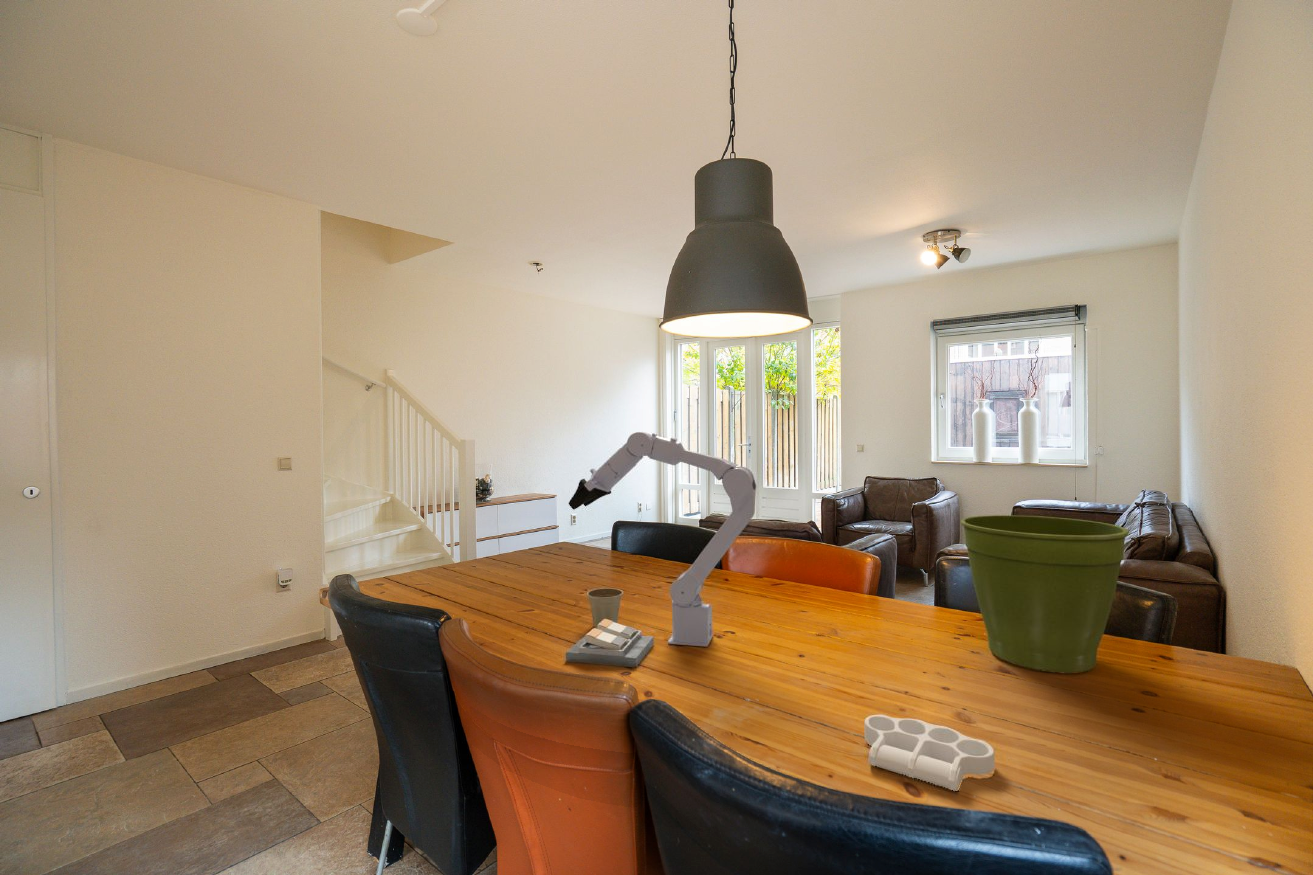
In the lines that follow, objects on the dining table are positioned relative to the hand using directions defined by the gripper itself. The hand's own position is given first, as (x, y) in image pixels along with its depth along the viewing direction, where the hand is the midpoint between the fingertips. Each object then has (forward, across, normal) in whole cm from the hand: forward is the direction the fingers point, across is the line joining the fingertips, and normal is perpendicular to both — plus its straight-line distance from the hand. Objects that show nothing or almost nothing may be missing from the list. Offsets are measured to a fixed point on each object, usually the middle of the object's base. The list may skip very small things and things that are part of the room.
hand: (577, 504), depth 148 cm
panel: (+12, +12, +32) cm, 36 cm away
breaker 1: (+9, +15, +29) cm, 34 cm away
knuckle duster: (-33, +43, +73) cm, 90 cm away
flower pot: (+18, -6, +27) cm, 33 cm away
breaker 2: (+9, +8, +29) cm, 32 cm away
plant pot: (-56, -5, +93) cm, 109 cm away
